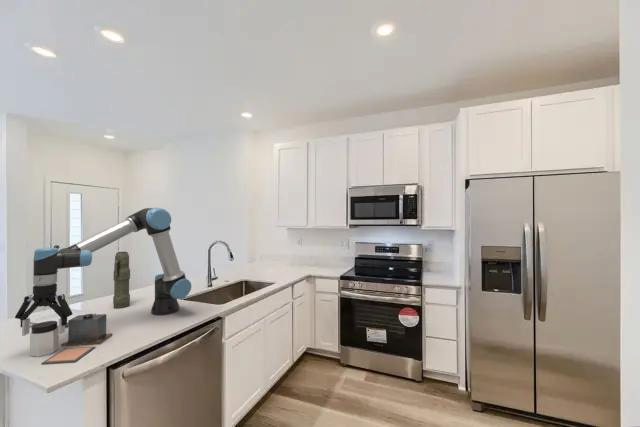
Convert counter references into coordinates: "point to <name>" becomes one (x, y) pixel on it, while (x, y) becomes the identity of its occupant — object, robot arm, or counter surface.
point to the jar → (44, 338)
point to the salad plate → (56, 317)
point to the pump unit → (87, 330)
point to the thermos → (121, 281)
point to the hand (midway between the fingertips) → (43, 334)
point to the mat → (69, 355)
